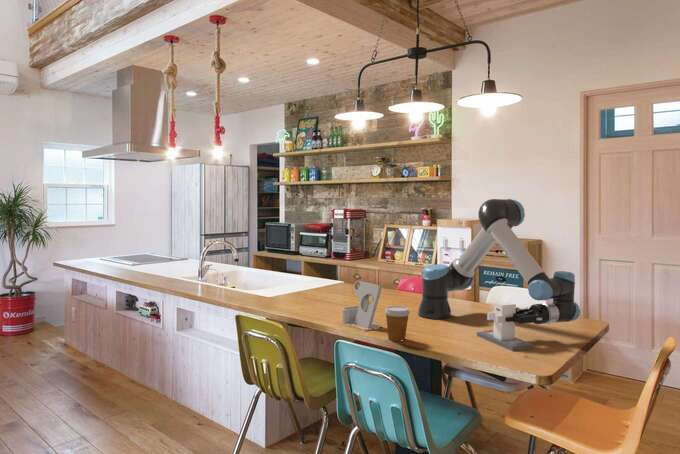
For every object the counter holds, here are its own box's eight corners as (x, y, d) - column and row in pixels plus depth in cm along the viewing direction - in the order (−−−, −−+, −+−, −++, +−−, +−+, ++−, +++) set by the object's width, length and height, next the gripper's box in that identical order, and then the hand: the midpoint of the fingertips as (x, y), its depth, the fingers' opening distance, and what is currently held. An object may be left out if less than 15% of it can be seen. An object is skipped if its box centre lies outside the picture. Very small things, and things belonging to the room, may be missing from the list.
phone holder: (339, 322, 211) (340, 281, 210) (357, 319, 217) (358, 279, 217) (365, 331, 197) (365, 287, 197) (383, 327, 204) (384, 285, 203)
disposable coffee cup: (406, 335, 191) (407, 305, 191) (411, 342, 182) (411, 311, 181) (382, 335, 191) (383, 305, 190) (385, 342, 181) (386, 311, 181)
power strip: (476, 339, 187) (477, 330, 187) (496, 337, 190) (496, 328, 190) (512, 355, 168) (512, 344, 168) (532, 352, 172) (533, 342, 171)
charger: (492, 337, 180) (493, 302, 180) (506, 335, 182) (507, 301, 182) (500, 340, 176) (501, 305, 175) (514, 339, 178) (515, 304, 177)
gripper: (560, 329, 177) (508, 334, 169) (526, 317, 193) (477, 322, 185) (561, 308, 177) (509, 313, 168) (527, 299, 193) (478, 302, 185)
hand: (492, 317), depth 177 cm, fingers closed on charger, 4 cm apart
